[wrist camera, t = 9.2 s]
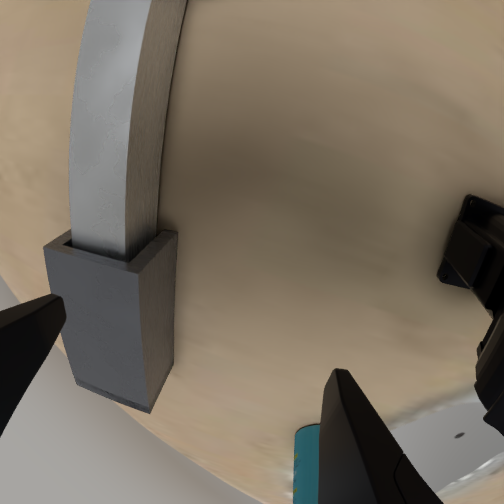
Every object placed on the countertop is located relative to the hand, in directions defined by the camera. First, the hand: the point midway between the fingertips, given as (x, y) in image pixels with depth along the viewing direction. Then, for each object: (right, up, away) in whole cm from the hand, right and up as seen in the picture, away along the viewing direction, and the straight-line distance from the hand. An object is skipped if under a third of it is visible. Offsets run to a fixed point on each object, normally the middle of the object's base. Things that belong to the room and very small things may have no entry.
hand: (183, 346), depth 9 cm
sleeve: (-7, -1, +15) cm, 17 cm away
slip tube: (-5, +12, +9) cm, 16 cm away
